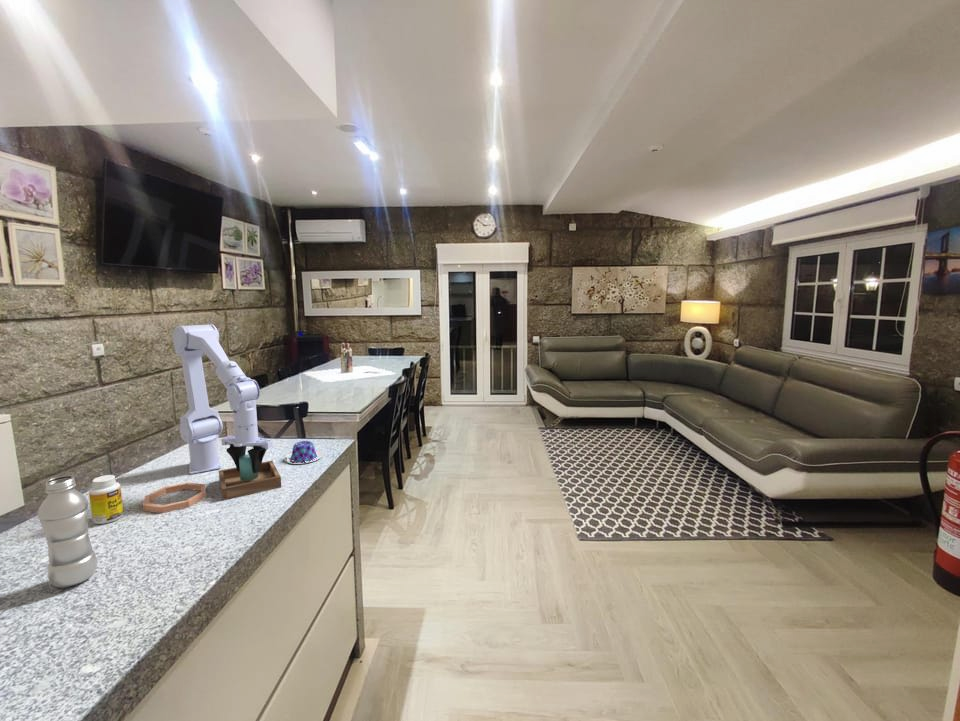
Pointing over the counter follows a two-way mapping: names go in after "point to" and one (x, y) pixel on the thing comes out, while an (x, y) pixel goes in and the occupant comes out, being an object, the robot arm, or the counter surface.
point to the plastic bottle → (66, 533)
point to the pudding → (304, 452)
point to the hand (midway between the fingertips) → (248, 470)
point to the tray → (238, 487)
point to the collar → (177, 505)
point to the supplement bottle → (105, 500)
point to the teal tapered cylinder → (246, 468)
